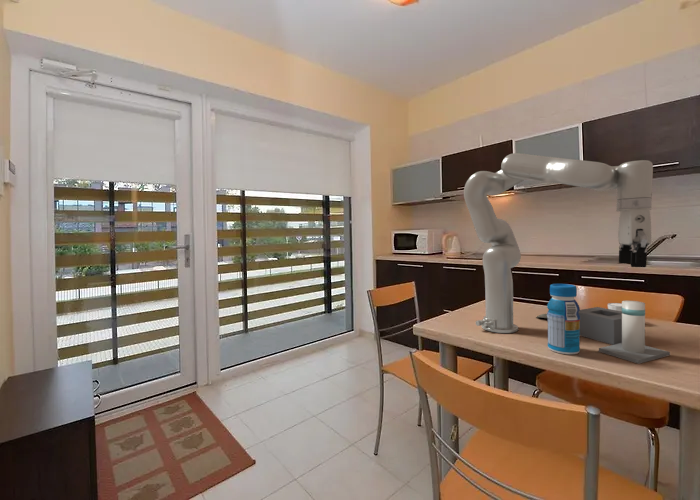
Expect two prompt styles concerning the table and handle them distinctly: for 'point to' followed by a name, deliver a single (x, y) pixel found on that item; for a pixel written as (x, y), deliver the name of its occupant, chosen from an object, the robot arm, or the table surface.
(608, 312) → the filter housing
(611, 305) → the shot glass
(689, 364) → the table surface
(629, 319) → the cylinder
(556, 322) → the beverage bottle
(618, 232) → the robot arm
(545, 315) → the soupspoon
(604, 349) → the rubber mat
